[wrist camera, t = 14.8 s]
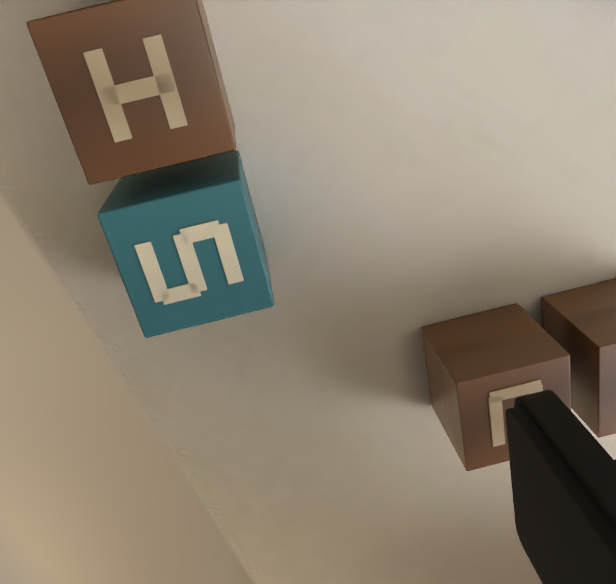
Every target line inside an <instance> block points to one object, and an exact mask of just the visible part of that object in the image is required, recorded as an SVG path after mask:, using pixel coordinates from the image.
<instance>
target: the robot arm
mask: <svg viewBox="0 0 616 584" xmlns="http://www.w3.org/2000/svg"><path fill="white" fill-rule="evenodd" d="M505 415H506V427H507V438H508V448H509V459H510V470H511V480H512V491H513V502H514V512H515V523H516V529H517V533H518V536H519V539H520V542H521V544H522V546H523V548H524V550H525V552H526V554H527V556H528V557H529V559H530V561H531V563H532V565H533V566H534V568H535V570H536V572H537V574H538V576H539V577H540V579H541V581H542V583H543V584H616V460H613V459H612V457H611V456H610V455H609V454H608V453H607V452H606V451H605V449H604V448H603V447H602V446H601V445H600V444H599V443H598V441H597V440H596V439H595V438H594V437H593V436H592V435H591V434H590V432H589V431H588V430H587V429H586V428H585V427H584V426H583V424H582V423H581V422H580V421H579V420H578V419H577V418H576V416H575V415H574V414H573V413H572V412H571V411H570V410H569V408H568V407H567V406H566V405H565V404H564V403H563V402H562V400H561V399H560V398H559V397H558V396H557V395H556V394H555V393H554V392H553V391H552V390H549V389H548V390H544V391H540V392H536V393H532V394H528V395H524V396H520V397H517V398H515V401H514V407H513V408H509V409H507V410H506V412H505Z"/></svg>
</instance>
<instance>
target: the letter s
mask: <svg viewBox="0 0 616 584" xmlns="http://www.w3.org/2000/svg"><path fill="white" fill-rule="evenodd" d="M97 216H98V219H99V221H100V224H101V226H102V229H103V231H104V234H105V237H106V239H107V242H108V244H109V247H110V249H111V252H112V255H113V257H114V260H115V262H116V265H117V267H118V270H119V272H120V275H121V278H122V280H123V283H124V285H125V288H126V290H127V293H128V296H129V298H130V301H131V303H132V306H133V308H134V311H135V314H136V316H137V319H138V321H139V324H140V326H141V329H142V331H143V334H144V336H145V338H148V337H152V336H156V335H160V334H164V333H168V332H172V331H176V330H180V329H184V328H188V327H193V326H197V325H201V324H205V323H209V322H213V321H217V320H221V319H225V318H229V317H233V316H237V315H241V314H245V313H249V312H253V311H257V310H261V309H265V308H269V307H273V306H274V299H273V293H272V287H271V281H270V275H269V269H268V263H267V257H266V253H265V249H264V246H263V242H262V238H261V234H260V230H259V227H258V223H257V219H256V215H255V211H254V208H253V204H252V200H251V196H250V192H249V189H248V185H247V181H246V177H245V173H244V170H243V166H242V162H241V158H240V154H239V152H238V151H237V150H236V151H232V152H228V153H224V154H220V155H215V156H211V157H207V158H203V159H199V160H195V161H191V162H186V163H182V164H178V165H174V166H170V167H166V168H162V169H157V170H153V171H149V172H145V173H141V174H137V175H133V176H128V177H124V178H121V180H120V181H119V182H118V184H117V185H116V187H115V188H114V190H113V191H112V193H111V194H110V196H109V197H108V199H107V200H106V202H105V203H104V205H103V206H102V208H101V209H100V211H99V212H98V214H97Z"/></svg>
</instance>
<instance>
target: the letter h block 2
mask: <svg viewBox="0 0 616 584" xmlns="http://www.w3.org/2000/svg"><path fill="white" fill-rule="evenodd" d="M27 27H28V29H29V32H30V35H31V37H32V40H33V42H34V45H35V47H36V50H37V53H38V55H39V58H40V60H41V63H42V66H43V68H44V71H45V73H46V76H47V78H48V81H49V84H50V86H51V89H52V91H53V94H54V96H55V99H56V102H57V104H58V107H59V109H60V112H61V114H62V117H63V120H64V122H65V125H66V127H67V130H68V133H69V135H70V138H71V140H72V143H73V145H74V148H75V151H76V153H77V156H78V158H79V161H80V163H81V166H82V169H83V171H84V174H85V176H86V179H87V181H88V184H89V185H92V184H96V183H100V182H105V181H109V180H113V179H117V178H121V177H125V176H129V175H133V174H138V173H142V172H146V171H150V170H154V169H158V168H162V167H167V166H171V165H175V164H179V163H183V162H187V161H191V160H195V159H200V158H204V157H208V156H212V155H216V154H220V153H224V152H229V151H233V150H235V149H236V140H235V126H234V121H233V117H232V113H231V109H230V105H229V102H228V98H227V94H226V90H225V86H224V83H223V79H222V75H221V71H220V67H219V63H218V60H217V56H216V52H215V48H214V44H213V41H212V37H211V33H210V29H209V25H208V21H207V18H206V14H205V10H204V6H203V2H202V0H116V1H112V2H108V3H103V4H99V5H95V6H91V7H86V8H82V9H78V10H74V11H69V12H65V13H61V14H57V15H52V16H48V17H44V18H40V19H35V20H31V21H28V22H27Z"/></svg>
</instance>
